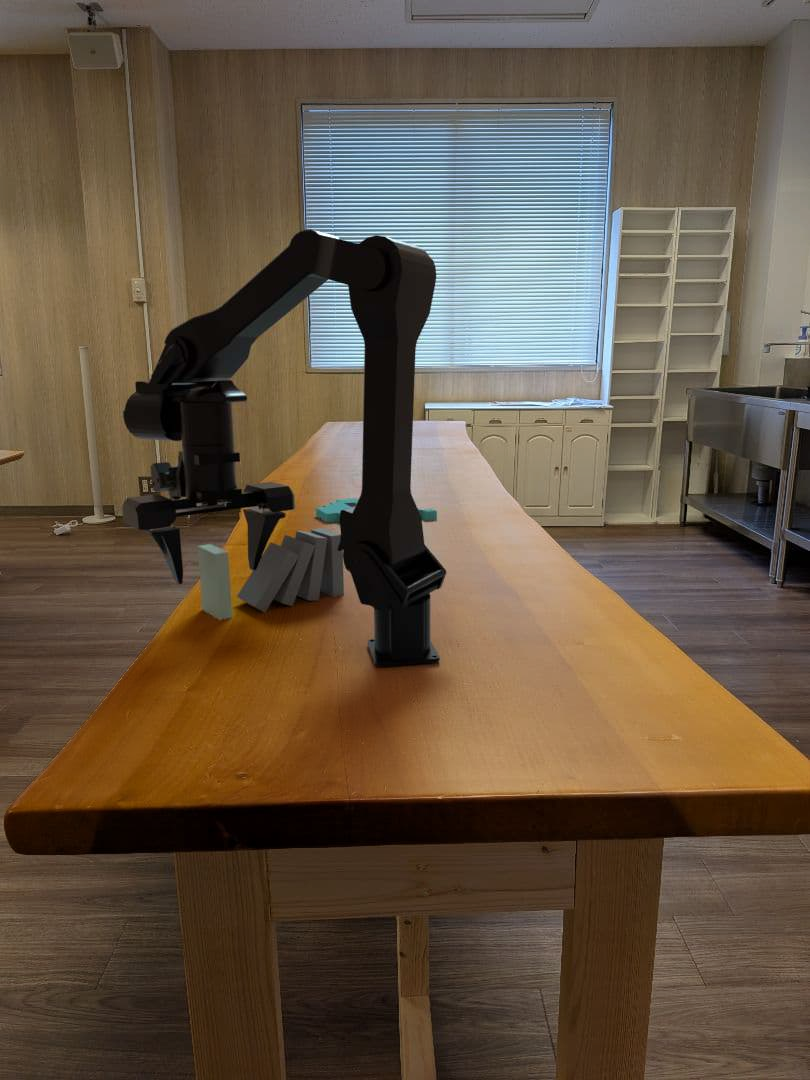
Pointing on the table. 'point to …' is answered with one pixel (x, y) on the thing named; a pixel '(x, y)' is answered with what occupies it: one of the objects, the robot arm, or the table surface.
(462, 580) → the table surface
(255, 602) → the domino
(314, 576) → the domino
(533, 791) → the table surface
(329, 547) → the domino
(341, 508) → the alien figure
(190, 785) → the table surface
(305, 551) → the domino
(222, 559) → the sage domino
